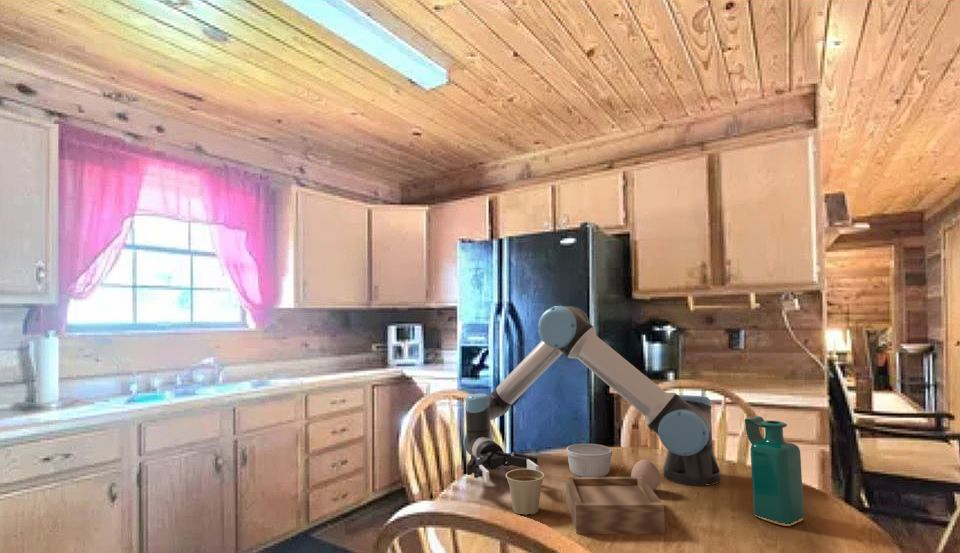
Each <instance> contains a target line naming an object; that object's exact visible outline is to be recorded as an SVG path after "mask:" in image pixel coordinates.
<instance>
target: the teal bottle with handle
mask: <svg viewBox="0 0 960 553" xmlns="http://www.w3.org/2000/svg"><path fill="white" fill-rule="evenodd" d="M744 426H745V431H746V432H745V433H746V436H747V438H748V440H749V442H750V443H751V445H750V465H751V468H750V469H751V485H752V486H751V488H752V490H751V491H752V506H753V509H752V510H753V515H754V514H755V515H757V516H760V517H763V518H766V519H770V520H773V521H777V522H779V523H785V524H791V523H793V522H795V521H798V520H799V519H801V518H804V519H805V514H804V513H805V512H804V510H805V509H804V494H803V493H804V492H803V478H802V477H803V476H802V458H801V456H802V455H801V450H800V447H799V446H798V445H797V444H795V443H793V442H790V441H786V440H785V438H784V428H786V427H787V426H788V424H787V423H786V422H783V421H780V420H765V419H764V418H763V417H762V416H759V415H757V416H754V417H753V416H752V417H749V418H745V419H744ZM760 428H764V431H765V432H764V436H765V437H764V438H763V436H762V434H761V431H760ZM755 515H754V516H755Z"/></svg>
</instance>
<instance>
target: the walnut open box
mask: <svg viewBox="0 0 960 553" xmlns="http://www.w3.org/2000/svg"><path fill="white" fill-rule="evenodd" d="M565 495H566V498H565V499H566V505H567V508H568V511H569V513H570V514H569V515H570V517H571V521H572V525H573V528H574V531H575V534H576V535H601V534H602V535H619V534H620V535H629V534H630V535H647V534H648V535H656V534H657V535H660V534H661V535H662V534H663V535H664V534H666V525H665V524H666V522H665V521H666V520H665V505H664V503H663V502H662V501H661V499H660V498H659V497H658V495H657V494H656V493H655V492H654V491H652V489H651V488H650V487H649V486H648V484H647V483H646V482H645V480H644V479H643V478H642V477H631V476H604V477H580V476H566V477H565Z"/></svg>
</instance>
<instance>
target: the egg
mask: <svg viewBox="0 0 960 553" xmlns="http://www.w3.org/2000/svg"><path fill="white" fill-rule="evenodd" d="M630 473H631V474H630V477H642V478H643V479H644V480H645V482H646V483H647V484H648V486H649V487H650V488H651V489H652V491H653V492H654V491H655V490H656V489H658V487H659V484H660V474H659V471H658V469H657V466H655V464H654V463H653V462H652V461H649V460H648V459H640V460H638V461H637V462H636V463H635V464H634V465H633V467H632V469H631V472H630Z"/></svg>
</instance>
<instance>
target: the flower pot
mask: <svg viewBox="0 0 960 553" xmlns="http://www.w3.org/2000/svg"><path fill="white" fill-rule="evenodd" d="M544 478H545V474H544V472H543V471H541V470H539V471H538V470H533V469H527V468H517V469H512V470H510V471H507V472H506V473H505V479H507V483H508V485H509V491H510V498H511V505H512V510H513V512H514V513H515V514H517V515H520V514H525V515H524V516H528V515H531V516H532V515H535V514H537V513H538V512H539V510H540V497H541V489H542V484H543V480H544ZM519 513H520V514H519Z"/></svg>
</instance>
